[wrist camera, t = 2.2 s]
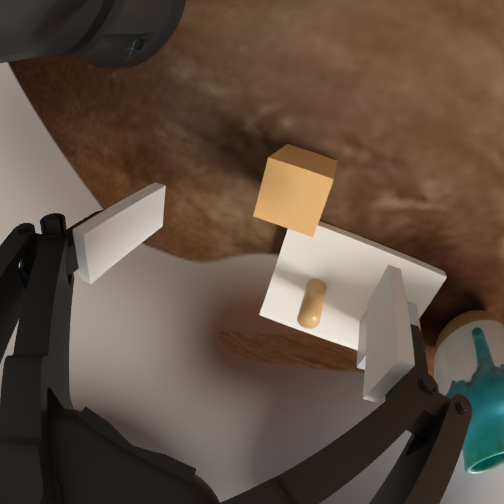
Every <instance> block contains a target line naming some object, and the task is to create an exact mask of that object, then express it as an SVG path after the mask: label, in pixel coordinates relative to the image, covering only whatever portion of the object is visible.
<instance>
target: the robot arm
mask: <svg viewBox="0 0 504 504" xmlns="http://www.w3.org/2000/svg"><path fill="white" fill-rule="evenodd" d="M184 6H185V0H0V63H4V62H10V61H16V60H23V59H30V58H39V57H48V56H60V55H69V56H72V57H75V58H77V59H80V60H82V61H84V62H87V63H89V64H92V65H94V66H97V67H100V68H108V69H113V68H128V67H132V66H135V65H137V64H139V63H141V62H143V61H145V60H146V59H148V58H149V57H151V56H152V55H153V54H155V53H156V52H157V51H158V50H159V49H160V48H161V47H162V46H163V45H164V44H165V43H166V41H167V40H168V39H169V38H170V36H171V35H172V33H173V32H174V30H175V28H176V27H177V25H178V23H179V21H180V18H181V16H182V13H183V10H184ZM165 188H166V186H165V185H162V184H159V183H156V182H155V183H153V184H151V185H149V186H147V187H145V188H144V189H142V190H140V191H138V192H136V193H134V194H132V195H131V196H129V197H127V198H125V199H123V200H122V201H120V202H118V203H116V204H114V205H113V206H111V207H109V208H107V209H106V210H105V209H104V210H101V211H97V212H95V213H93V214H91V215H90V216H89V217H86V218H85V219H83V221H80V222H78V223H76V224H75V225H73V226H72V227H70V228H68V229H67V230H66V222H65V216H64V215H62V214H59V213H53V214H49V215H46V216H44V217H43V218H42V219H41V220H40V225H41V231H42V234H37V233H35V227H34V225H33V224H30V223H23V224H20V225H19V226H17V227H16V228H15V229H13V231H12V232H11V233H10V234H9V235H8V237H7V238H6V239H5V240H4V242H3V243H2V244H1V246H0V363H1V360H2V358H3V355H4V353H5V350H6V348H7V345H8V342H9V340H10V338H11V336H12V333H13V331H14V329H15V327H16V324H17V322H18V320H19V324H18V329H17V335H16V341H15V347H14V353H13V355H12V356H7V357H6V358H5V362H4V368H3V378H2V388H1V401H0V504H319V503H321V502H322V501H323V500H325V499H326V498H328V497H329V496H331V495H332V494H333V493H335V492H336V491H337V490H339V489H340V488H341V487H343V486H344V485H345V484H346V483H348V482H349V481H350V480H352V479H353V478H354V477H355V476H356V475H358V474H359V473H360V472H361V471H363V470H364V469H365V468H366V467H367V466H368V465H370V463H372V462H373V461H374V460H375V459H376V458H377V457H378V456H380V455H381V454H382V453H383V452H384V451H385V450H386V449H387V448H388V447H389V446H390V445H391V444H392V443H393V442H394V441H395V440H396V439H397V438H398V437H399V436H400V435H401V434H402V433H403V432H404V431H405V430H408V431H409V432H411V433H412V435H411V437H410V439H409V440H408V442H407V444H406V446H405V448H404V450H403V451H402V453H401V455H400V457H399V458H398V460H397V462H396V464H395V465H394V467H393V469H392V470H391V472H390V473H389V475H388V477H387V478H386V480H385V481H384V483H383V484H382V486H381V487H380V489H379V490H378V492H377V493H376V495H375V496H374V498H373V499H372V501H371V502H370V503H369V504H439V503H440V501H441V499H442V497H443V495H444V492H445V490H446V488H447V486H448V483H449V481H450V479H451V476H452V474H453V471H454V468H455V466H456V463H457V461H458V458H459V455H460V452H461V449H462V447H463V444H464V441H465V437H466V434H467V431H468V427H469V424H470V420H471V417H472V406H471V403H470V401H469V400H468V399H467V398H466V397H465V396H463V395H462V394H456V395H454V396H453V397H452V398H451V399H449V398H447V397H446V396H444V395H442V394H441V393H439V392H438V386H437V383H436V381H435V380H434V378H433V377H432V376H430V375H429V374H428V368H427V360H426V353H425V346H424V340H423V334H422V333H421V331H420V329H419V327H418V326H416V325H413V324H410V319H409V312H408V306H407V300H406V294H405V289H404V283H403V278H402V273H401V269H399V268H396V267H394V266H391V265H389V264H388V266H387V268H386V270H385V272H384V274H383V276H382V278H381V279H380V281H379V283H378V285H377V287H376V288H375V290H374V292H373V294H372V295H371V297H370V299H369V300H368V302H367V342H366V362H365V377H364V390H363V399H366V400H370V401H374V402H377V403H378V402H379V401H380V400H381V399H382V398H383V397H384V396H385V395H386V397H385V402H384V403H383V404H382V405H380V406H379V407H378V408H377V409H376V410H374V411H373V412H372V413H371V414H370V415H368V416H367V417H366V418H364V419H363V420H362V421H361V422H359V423H358V424H357V425H355V426H354V427H353V428H352V429H350V430H349V431H347V432H346V433H345V434H343V435H342V436H341V437H339V438H338V439H336V440H335V441H333V442H332V443H331V444H329V445H328V446H326V447H325V448H323V449H322V450H320V451H319V452H317V453H316V454H314V455H312V456H311V457H309V458H308V459H306V460H305V461H303V462H301V463H300V464H298V465H296V466H295V467H293V468H291V469H289V470H288V471H286V472H284V473H282V474H281V475H279V476H277V477H274V478H272V479H270V480H268V481H266V482H264V483H262V484H260V485H258V486H256V487H254V488H252V489H250V490H248V491H246V492H244V493H241V494H240V495H237V496H235V497H233V498H231V499H228V500H226V501H223V502H221V503H220V502H219V500H218V498H217V496H216V495H215V493H214V492H213V490H212V489H211V488H210V487H209V486H208V484H207V483H206V482H204V481H203V480H202V479H201V478H200V477H198V476H197V475H196V474H195V472H196V469H195V468H193V467H191V466H189V465H186V464H184V463H182V462H180V461H178V460H176V459H173V458H171V457H169V456H167V455H165V454H161V453H156V452H152V451H149V450H146V449H142V448H139V447H135V446H133V445H131V444H130V443H129V442H128V441H127V440H126V439H125V438H124V437H123V436H122V435H121V434H120V433H119V432H118V431H117V430H116V429H115V428H114V427H113V426H112V425H111V424H110V423H109V422H107V421H106V420H104V419H103V418H101V417H100V416H98V415H97V414H95V413H94V412H92V411H91V410H90V409H88V408H87V407H85V408H84V409H83V411H78V410H74V409H73V406H72V402H71V399H70V392H69V335H70V317H71V305H72V294H73V284H74V274H73V272H74V271H76V270H77V269H78V270H79V276H80V279H82V280H84V281H85V282H87V283H89V284H92V283H93V282H94V281H95V280H96V279H98V278H99V277H100V276H101V275H102V274H103V273H105V272H106V271H107V270H108V269H109V268H111V267H112V266H113V265H114V264H115V263H117V262H118V261H119V260H120V259H122V258H123V257H124V256H125V255H126V254H128V253H129V252H130V251H131V250H133V249H134V248H135V247H136V246H138V245H139V244H140V243H142V242H143V241H144V240H145V239H147V238H148V237H149V236H151V235H152V234H153V233H154V232H156V231H157V230H158V229H160V228H161V227H162V226H163V212H164V200H165ZM19 262H20V267H19ZM18 267H19V268H18ZM19 318H20V319H19Z"/></svg>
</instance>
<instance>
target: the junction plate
mask: <svg viewBox="0 0 504 504" xmlns="http://www.w3.org/2000/svg"><path fill="white" fill-rule="evenodd" d="M388 264H389V265H391V266H394V267H396V268H399V269H401V273H402V278H403V283H404V289H405V294H406V300H407V306H408V312H409V319H410V324H413V325H416V326H418V327H419V329H420V331H421V327H420V321H419V318H420V317H421V315H422V314H423V313H424V311H425V310H426V308H427V307H428V305H429V304H430V302H431V301H432V300H433V298H434V297H435V295H436V294H437V292H438V290H439V289H440V287H441V286H442V284H443V283H444V281H445V280H446V278H447V276H446V274H445V271H443V270H440V269H438V268H436V267H434V266H431V265H429V264H427V263H424V262H422V261H420V260H417V259H415V258H413V257H410V256H408V255H405V254H403V253H401V252H398V251H396V250H393V249H391V248H388V247H386V246H383V245H381V244H379V243H376V242H374V241H371V240H368V239H366V238H363V237H361V236H358V235H356V234H353V233H351V232H348V231H345V230H343V229H340V228H337V227H335V226H332V225H329V224H327V223H324V222H321V221H319V222H318V225H317V228H316V231H315V233H314V236H313V237H310V236H307V235H305V234H302V233H299V232H296V231H294V230H291V229H288V230H287V233H286V236H285V239H284V242H283V245H282V248H281V251H280V254H279V257H278V261H277V264H276V267H275V270H274V273H273V276H272V279H271V282H270V285H269V288H268V291H267V294H266V297H265V300H264V303H263V306H262V308H261V312H260V314H259V315H261V316H263V317H266V318H269V319H271V320H274V321H277V322H279V323H282V324H285V325H287V326H290V327H293V328H296V329H298V330H301V331H304V332H306V333H309V334H312V335H315V336H318V337H320V338H323V339H326V340H329V341H332V342H335V343H338V344H341V345H344V346H347V347H350V348H353V349H356V350H358V355H357V366H356V367H357V368H360V369H364V370H365V362H366V342H367V302H368V300H369V299H370V297H371V295H372V294H373V292H374V290H375V288H376V287H377V285H378V283H379V281H380V279H381V278H382V276H383V274H384V272H385V270H386V268H387V266H388Z"/></svg>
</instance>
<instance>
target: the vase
mask: <svg viewBox="0 0 504 504" xmlns="http://www.w3.org/2000/svg"><path fill="white" fill-rule="evenodd" d="M434 376H435V381H436V383H437V386H438V392H439V393H441V394H442V395H444V396H446V397H447V398H449V399H451V398H452V397H453V396H454V395H456V394H462V395H463V396H465V397H466V398H467V399H468V400H469V401H470V403H471V406H472V417H471V420H470V424H469V427H468V431H467V434H466V437H465V441H464V444H463V447H462V450H463V456H464V465H465V471H466V473H469V474H477V473H482V472H486V471H489V470H491V469H494V468H496V467H498V466H500V465H502V464H504V325H503V324H502V322H501V321H500V320H499V319H498V318H497V317H496V316H495V315H493V314H492V313H489V312H487V311H483V310H472V311H467V312H465V313H462V314H460V315H458V316H457V317H455V318H454V319H452V320H451V321H450V322H449V323H448V324H447V325H446V326H445V327H444V329H443V330H442V332H441V333H440V335H439V337H438V339H437V342H436V346H435V351H434Z"/></svg>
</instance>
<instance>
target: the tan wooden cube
mask: <svg viewBox="0 0 504 504" xmlns="http://www.w3.org/2000/svg"><path fill="white" fill-rule="evenodd" d="M336 166H337V160H334V159H332V158H329V157H326V156H323V155H320V154H317V153H314V152H311V151H308V150H305V149H302V148H299V147H296V146H292V145H289V144H286V145H285V146H284V147H282V148H281V149H279V150H278V151H277V152H275V153H274V154H272V155H271V156H270V157H268V160H267V164H266V168H265V172H264V176H263V180H262V184H261V188H260V192H259V196H258V200H257V204H256V208H255V212H254V217H257V218H260V219H263V220H266V221H268V222H271V223H274V224H277V225H280V226H282V227H285V228H288V229H291V230H294V231H296V232H299V233H302V234H305V235H307V236H310V237H313V236H314V233H315V231H316V228H317V225H318V222H319V220H320V217H321V214H322V211H323V209H324V206H325V203H326V200H327V197H328V194H329V192H330V189H331V186H332V183H333V180H334V176H335V171H336Z"/></svg>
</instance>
